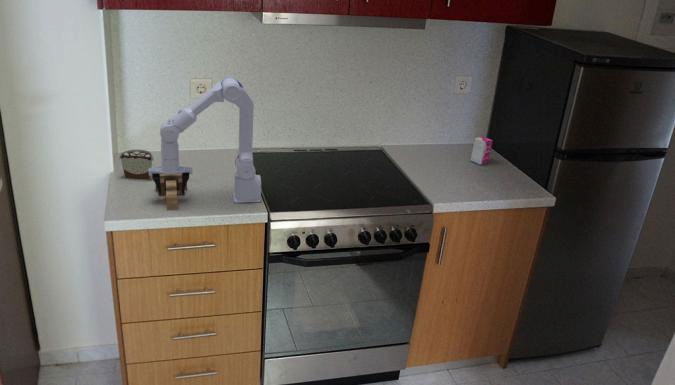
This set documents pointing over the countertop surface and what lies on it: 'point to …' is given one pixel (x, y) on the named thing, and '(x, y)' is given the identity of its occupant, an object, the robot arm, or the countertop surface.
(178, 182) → the brown wooden stool
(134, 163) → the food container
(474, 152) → the supplement box
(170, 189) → the rail
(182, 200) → the countertop surface
